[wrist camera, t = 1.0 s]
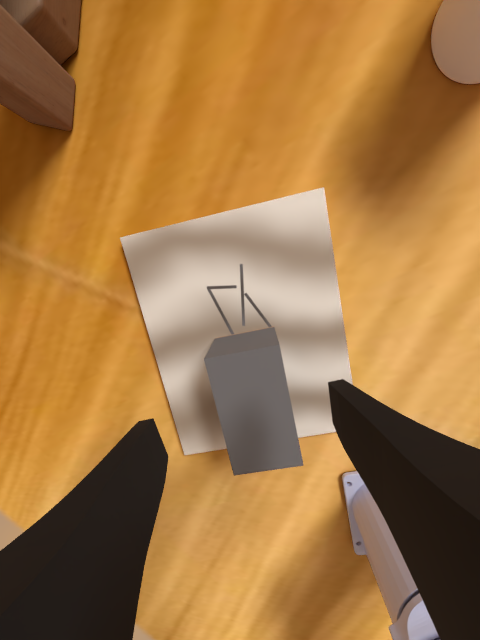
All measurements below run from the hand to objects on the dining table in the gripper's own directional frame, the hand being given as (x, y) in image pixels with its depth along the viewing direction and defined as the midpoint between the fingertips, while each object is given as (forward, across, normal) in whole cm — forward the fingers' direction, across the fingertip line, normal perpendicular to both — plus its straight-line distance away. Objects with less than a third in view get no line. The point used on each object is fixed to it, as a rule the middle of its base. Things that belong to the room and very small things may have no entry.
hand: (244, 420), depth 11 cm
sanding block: (+11, 0, +5) cm, 12 cm away
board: (+12, -1, +2) cm, 13 cm away
